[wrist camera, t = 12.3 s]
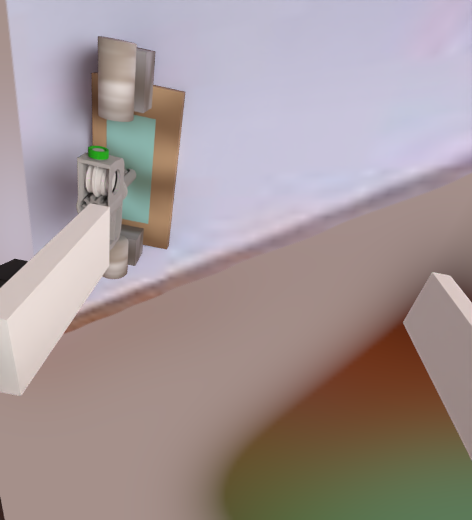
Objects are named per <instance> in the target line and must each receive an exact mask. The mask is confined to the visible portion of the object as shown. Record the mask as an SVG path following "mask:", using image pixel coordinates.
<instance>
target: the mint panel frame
mask: <svg viewBox="0 0 472 520" xmlns="http://www.w3.org/2000/svg"><path fill="white" fill-rule="evenodd" d="M154 64H155V51H151V50H146V49H142V48H137V44H135V43H132V42H128V41H124V40H119V39H114V38H108V37H101V36H98V73H97V72H94V73H91V74H92V135H93V146H102V147H105V148H107V149H109V155H111V156H115V157H120V158H123V160H124V168H126V170H127V171H128V172H129V169H133V170H135V172H136V178H135V180H134V181H133V182H132V183H131V184H130V185H129V186H128V187H127V189H128V193H127V196H126V198H125V199H124V200H123V205H122V224H121V232H120V236H119V239H118V241H117V242H116V244H115V245H114V247H113V248H112V249H111V250H110V251H109V267H108V268H107V270H106V271H105V273H104V274H103V277H105V278H108V279H119V278H122V277H124V276H125V275H126V274H127V267H128V265H133V266H135V265H136V263H137V261H138V260H139V258H140V256H141V254H142V248H143V245H148V246H153V247H158V248H163V249H167V248H168V246H169V237H170V228H171V219H172V210H173V200H174V191H175V182H176V173H177V164H178V155H179V145H180V136H181V127H182V118H183V109H184V99H185V92H184V91H179V90H175V89H170V88H165V87H161V86H156V85H153V80H154Z"/></svg>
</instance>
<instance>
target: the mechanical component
mask: <svg viewBox="0 0 472 520" xmlns="http://www.w3.org/2000/svg"><path fill="white" fill-rule="evenodd" d="M88 164H89V165H88ZM87 165H88V166H87ZM77 174H78V201H77V205H76V208H77V212H78V214H79V213H80V212H81V211H82V210H83V209H84V208H86V207H87V206H88V205H89V204H90V203H92V204H97V205H102V206H107V207H110V243H109V251H110V250H111V249H112V248H113V247H114V245H115V244H116V242H117V241H118V239H119V236H120V232H121V224H122V205H123V200H124V199H125V198H126V196H127V193H128V189H127V187H128V186H129V185H130V184H131V183H132V182H133V181H134V180H135V178H136V172H135V170H133V169H129V172H128V171H127V170H126V168H124V160H123V158H120V157H115V156H111V155H109V149H107V148H105V147H102V146H90V147H88V153H84V154H83V155H81V156H80V157H78V158H77ZM84 185H85V186H84Z"/></svg>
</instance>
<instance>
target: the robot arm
mask: <svg viewBox="0 0 472 520" xmlns="http://www.w3.org/2000/svg"><path fill="white" fill-rule="evenodd" d="M109 243H110V207H107V206H102V205H97V204H92V203H90V204H89V205H88V206H87V207H86V208H84V209H83V210H82V211H81V212H80V213H79V214H78V215H77V216H76V217H75V218H74V219H73V220H72V221H71V222H70V223H69V224H68V225H66V226H65V227H64V228H63V229H62V230H61V231H60V232H59V233H58V234H57V235H56V236H55V237H54V238H53V239H52V240H51V241H50V242H49V243H47V244H46V245H45V246H44V247H43V248H42V249H41V250H40V251H39V252H38V253H37V254H36V255H35V256H34V257H33V258H32V259H31V260H29V261H24V260H18V259H14V260H11V261H9V262H7V263H5V264H2V265H0V392H2V393H8V394H13V395H19V396H21V395H22V394H23V392H24V390H25V389H26V388H27V386H28V385H29V383H30V382H31V380H32V379H33V377H34V376H35V374H36V373H37V372H38V370H39V368H40V367H41V366H42V364H43V363H44V361H45V360H46V358H47V357H48V355H49V354H50V352H51V351H52V349H53V348H54V346H55V345H56V343H57V342H58V341H59V339H60V338H61V336H62V335H63V333H64V332H65V330H66V329H67V327H68V326H69V324H70V323H71V321H72V320H73V318H74V317H75V315H76V314H77V313H78V311H79V310H80V308H81V307H82V305H83V304H84V302H85V301H86V299H87V298H88V296H89V295H90V293H91V292H92V290H93V289H94V287H95V286H96V285H97V283H98V282H99V280H100V279H101V277H102V276H103V274H104V273H105V271H106V270H107V268H108V267H109ZM403 324H404V326H405V328H406V330H407V332H408V334H409V336H410V337H411V340H412V342H413V344H414V346H415V348H416V350H417V352H418V354H419V356H420V358H421V360H422V362H423V364H424V366H425V368H426V370H427V372H428V374H429V376H430V378H431V380H432V381H433V384H434V386H435V388H436V390H437V392H438V394H439V396H440V398H441V400H442V402H443V404H444V406H445V408H446V410H447V412H448V414H449V415H450V418H451V420H452V422H453V423H454V426H455V428H456V430H457V432H458V434H459V435H460V438H461V439H462V442H463V444H464V446H465V447H466V450H467V452H468V454H469V456H470V457H471V460H472V302H470V300H469V299H468V297H467V296H466V295H465V294H464V292H463V291H462V290H461V289H460V287H459V286H458V285H457V284H456V283H455V281H454V280H453V279H452V277H451V276H448V275H444V274H439V273H434V272H432V273H431V275H430V277H429V278H428V280H427V282H426V284H425V285H424V287H423V289H422V291H421V292H420V294H419V296H418V297H417V299H416V301H415V303H414V304H413V306H412V308H411V309H410V311H409V313H408V315H407V316H406V318H405V320H404V322H403ZM0 520H5V519H4V514H3V509H2V504H1V499H0Z"/></svg>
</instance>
